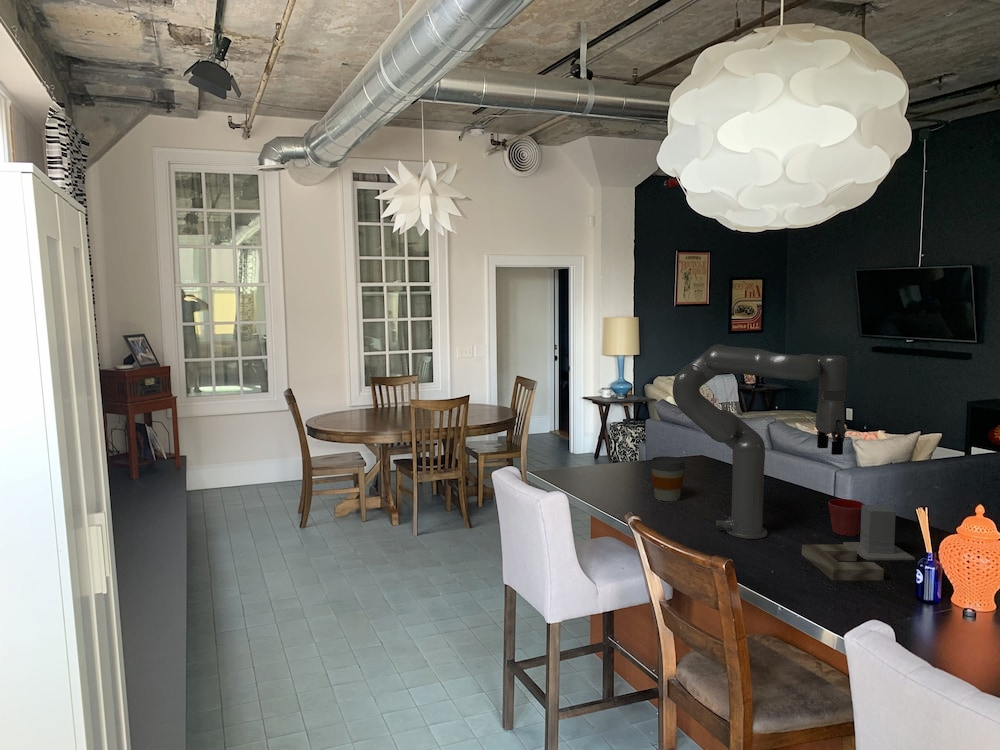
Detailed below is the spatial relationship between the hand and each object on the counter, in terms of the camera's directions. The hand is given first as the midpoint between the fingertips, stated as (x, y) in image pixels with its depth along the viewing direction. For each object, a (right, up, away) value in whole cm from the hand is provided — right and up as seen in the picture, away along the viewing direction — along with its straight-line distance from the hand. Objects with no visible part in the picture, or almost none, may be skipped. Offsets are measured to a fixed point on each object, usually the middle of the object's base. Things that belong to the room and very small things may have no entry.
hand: (829, 451), depth 224 cm
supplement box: (+11, -29, -7) cm, 31 cm away
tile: (+11, -29, -7) cm, 32 cm away
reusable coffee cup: (-38, -24, +52) cm, 68 cm away
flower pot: (+10, -28, +11) cm, 31 cm away
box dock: (-6, -30, -19) cm, 36 cm away
